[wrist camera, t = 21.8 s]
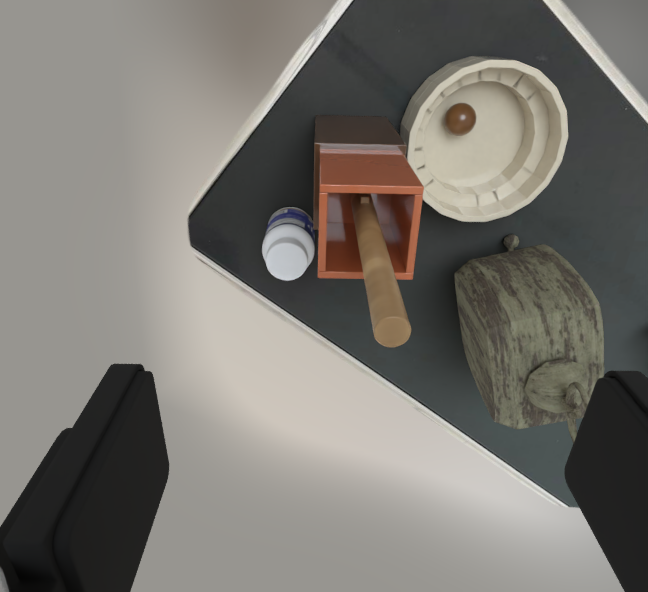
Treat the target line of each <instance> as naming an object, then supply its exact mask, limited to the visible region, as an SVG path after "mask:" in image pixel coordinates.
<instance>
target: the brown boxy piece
mask: <svg viewBox="0 0 648 592" xmlns="http://www.w3.org/2000/svg"><path fill="white" fill-rule="evenodd" d="M405 155H406V144H405V142H404V141H403V140H402V138H401V137H400V135H399V134H398V133H397V131H396V130H395V128H394V127H393V126H392V124H391V123H390V121H389V120H388V119H387V117H382V116H339V115H316V117H315V141H314V208H313V229H314V230H318V278H349V279H364V275H363V269H362V263H361V258H360V252H359V246H358V241H357V235H356V229H355V223H354V218H353V212H352V206H351V200H350V195H349V193H371V196H372V200H373V203H374V206H375V210H376V213H377V216H378V220H379V223H380V226H381V230H382V233H383V236H384V240H385V243H386V246H387V250H388V253H389V256H390V260H391V263H392V266H393V270H394V273H395V276H396V279H406V280H412V279H413V272H414V265H415V256H416V248H417V240H418V232H419V224H420V216H421V208H422V200H423V192H424V186H423V185H422V183H421V181H420V180H419V178H418V177H417V175H416V174H415V172H414V170H413V169H412V167H411V166H410V164H409V163H408V161H407V159H406V158H405Z"/></svg>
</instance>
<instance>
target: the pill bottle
mask: <svg viewBox="0 0 648 592" xmlns="http://www.w3.org/2000/svg"><path fill="white" fill-rule="evenodd" d="M314 251H315V230H314V229H313V221H312V219H311V217H310V216H309V215H308V214H307V213H306V212H305V211H303V210H301V209H299V208H295V207H286V208H282V209H280V210H278V211H276V212H275V213H274V214H273V215H272V216H271V218H270V220H269V222H268V225H267V230H266V234H265V237H264V241H263V245H262V254H263V258H264V260H265V262H266V266H267V268H268V270H269V272H270V273H271V274H272V275H273V276H274V277H276V278H278V279H281V280H294V279H296V278H298V277H300V276H301V275H302V274H303V273H304V272H305V270H306V268H307V267H308V266H309V264H310V263H311V261H312V259H313V257H314Z"/></svg>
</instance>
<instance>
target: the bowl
mask: <svg viewBox="0 0 648 592" xmlns="http://www.w3.org/2000/svg"><path fill="white" fill-rule="evenodd" d="M457 103H467V104H469V105H470V106H472V107H473V109H474V110H475V112H476V124H475V126H474V128H473V129H472V130H471V131H470V132H469V133H468V134H466V135H463V136H455V135H452V134H450V133H449V132H448V131H447V130H446V128H445V125H444V116H445V113H446V112H447V110H448V109H449V108H450V107H451V106H452V105H454V104H457ZM400 137H401V138H402V140H403V141H404V142H405V144H406V155H405V158H406V159H407V161H408V163H409V164H410V166H411V167H412V169H413V170H414V172H415V174H416V175H417V177H418V178H419V180H420V181H421V183H422V185H423V186H424V192H423V200H424V201H425V202H426V203H428V204H429V205H430V206H431V207H433V208H434V209H435V210H436V211H438V212H439V213H440V214H442V215H445V216H448V217H450V218H453V219H456V220H459V221H463V222H487V221H490V220H494V219H498V218H501V217H505V216H508V215H510V214H512V213H514V212H515V211H517V210H519V209H521V208H522V207H524V206H526V205H527V204H529V203H530V202H532V201H533V200H534V199H535V198H536V196H537V195H538V194H539V193H540V192H541V191H542V190H543V189H544V188H545V187H546V186H547V185H548V184H549V183H550V181H551V179H552V177H553V176H554V174H555V172H556V170H557V169H558V167H559V165H560V164H561V161H562V159H563V155H564V151H565V147H566V143H567V139H568V124H567V111H566V108H565V105H564V103H563V101H562V98H561V96H560V94H559V91H558V89H557V87H556V86H555V85H554V84H553V83H552V82H551V81H550V80H549V79H548V78H547V77H546V76H545V75H544V74H543V73H542V72H541V71H540V70H538V69H536V68H533V67H531V66H528V65H526V64H524V63H521V62H519V61H516V60H511V59H506V58H501V57H495V56H470V57H467V58H464V59H461V60H457V61H454V62H451V63H448V64H447V65H445V66H444V67H442V68H441V69H440V70H438V71H437V72H435V73H434V74H432V75H431V76H430V77H428V78H427V79H426V80H425V81H424V83H423V84H422V85H421V86H420V88H419V89H418V90H417V91H416V93H415V94H414V95H413V96H412V98H411V99H410V102H409V104H408V106H407V109H406V111H405V114H404V116H403V119H402V122H401V128H400Z"/></svg>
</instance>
